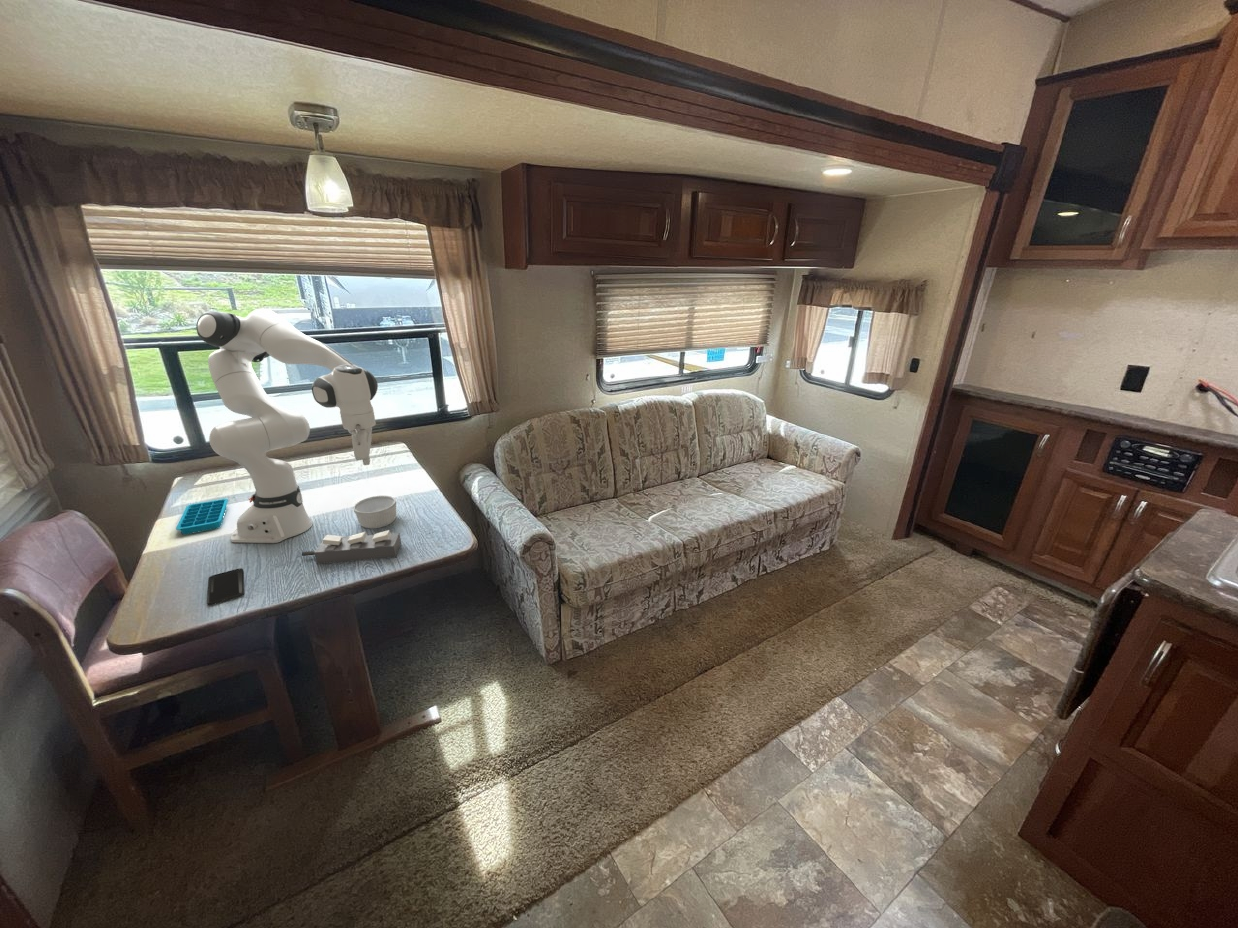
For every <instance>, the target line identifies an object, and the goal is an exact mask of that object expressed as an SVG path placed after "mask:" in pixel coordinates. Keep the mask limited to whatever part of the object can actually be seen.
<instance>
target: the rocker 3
mask: <svg viewBox="0 0 1238 928" xmlns="http://www.w3.org/2000/svg"><path fill="white" fill-rule="evenodd" d="M391 534H392V533H391V531H390V529H387V530H385V531H380V532H377V533H375V534H373V535H374V537H373V541H374V543H375V542H378V541H382V540H386V539H389V537H390V535H391Z"/></svg>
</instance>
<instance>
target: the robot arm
mask: <svg viewBox="0 0 1238 928" xmlns="http://www.w3.org/2000/svg"><path fill="white" fill-rule="evenodd" d="M195 328H196V329H195V330H196V333H197V336H198V337H199V339H201V341H202V342H204V343H206V344H208V345H209V346H213V347H215V348H219V349H217V350H215V351H213V352H212V353H210V354H209V356H208V358H207V363H208V369H209V373H210V376H211V379H212V382H213V384H214V386H215V389H216V390H217V392H218V394H219V397H220V399H221V400H222V403H223V406H225V407H226V408H227V409H228V410H229V411H231V412H233V413H235V414H238V415H243V416H248V418H243V419H239V420H238V419H237V420H231V421H228V422H225V423H222V424H219V425H217V426H215V427H213V428H212V430H210V433H209V438H208V440H209V444H210V447H211V449H212V450H213V451H214V452H215V454H216V455H218V456H220V457H222V458H224V459H227V460H231V461H233V462H235V463H237V464H238V465H240V466H242V467H243V468H244V469H245V470H246V472H247V474H249V476H250V478H251V481H252V483H253V486H254V489H255V493H253V494H252V495H251V497H250V498H249V499H248V500H249V503H252V502H253V504H252V505H251V506H249V507H248V508H247V509H246V510H245V511H244V512H242V514H241V515H240V516H239V517H238V519H237V521H236V529H235V530H234V531H233V532H232V533H231V535H230V538H229V539H230V542H231V543H249V544H250V543H253V544H254V543H255V544H277V543H280V542H283V541H285V540H286V539H288V538H292V537H295V536H298V535H300V534H302V533H304V532H307V531H308V530H309V529H310V528H311V527H312V526H313V521H312V519H311V518H310V516H309V514H308V513H307V510H306V509H305V506H304V503H303V502H304V501H303V496H302V492H301V489H300V486H299V485H298V483H297V479H296V475H295V471H294V468H293V466H292V464H290V463H289V462H287V461H285V460H282V459H278V458H273V457H272V458H271V457H268V456H267V452H270V451H275V450H280V449H284V448H288V447H293V446H296V445H298V444H300V443H303V442H304V441H306V440H308V438H309V436H310V433H311V427H310V424H309V422H308V420H307V419H306V417H305V416H304V415H302V414H301V413H299V412H296V411H292V410H289V409H287V408H285V407H283V406H281V405H279V404H278V403H277V402H275V401H274V400H273V399H272V398H271V397H270V396H269V395H268V394H267V392H266V391H265V389H264V388H263V386H262V384H261V383H260V380H259V378H258V377H257V375H256V372H255V371H254V369H253V366H252V363H260V362H262V361H264V359H266V358H268V357H272V359H274V360H276V361H278V362H281V363H282V364H287V365H312V366H320V367H322V368H325V369H328V370H329V371H330V372H329V373H328V374H324V375H321V376H319V377H316V378H315V379H314V381H313V382H312V384H311V385H312V386H311V392H312V396H313V399H314V401H315V402H316V403H317V404H319V405H320V406H321V407H323V408H327V409H329V408H332V409H333V408H336V407H337V408H339V414H340V418H341V424H342V428H343V429H344V430H346V431H348V433H349V434H351V443H352V449H353V450H352V451H353V455H354V459H355V460H356V461H362V464H363V466H369V465H370V464H371V458H370V453H371V446H372V440H373V428H374V427H375V426H376V425H377V423H376V418H375V412H374V408H373V405H372V403H371V401H372V400H373V399H374V398H375V396H376V394H377V392H378V387H379V385H378V381H377V379H376V377H375V376H374V375H373V374H372V373H371V372H370V371H368V370H367V369H365V368H363V367H361V366H358V365H356V364H354V363H353V362H352V361H351V360H349V359H348V358H346V357H345V356H344V355H342V354H341V353H339V352H337V350H335V349H334V348H332V347H330V346H329V345H327V344H326V343H324V342H321V341H319V340H316V339H315V338H312V337H311V336H308V335H306V334H304V333H303V332H301V331H300V330H298V329H297V328H296V327H295V326H293V325H292V324H291V323H290V322H288V320H286V319H285V318H284V317H282V316H281V315H279V314H278V313H276V312H274V311H272V310H270V309H266V308H257V309H255V310H253V311H251V312H249V314H248V315H247V316H246V317H242V316H238V315H236V314H235V313H233V312H232V313H231V312H225V311H218V310H217V311H216V310H210V311H209V310H207V311H205V312H203V313H202V314H201V315H200V317H198V319H197V322H196V325H195Z"/></svg>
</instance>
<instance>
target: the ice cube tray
mask: <svg viewBox="0 0 1238 928" xmlns="http://www.w3.org/2000/svg"><path fill="white" fill-rule="evenodd" d="M228 502H229V498H221V499H220V498H219V499H214V500H209V501H202V502H195V503H190V504H188V505H186V507H185V509H184V511H183V512H182V515H181V516H180V519H179V520H178V522H177V524H176V526H175V530H176V531H180V532H181V534H182V535H183V534H184V535H185V536H186V535H190V533H191V534H194V533H193V532H196V533H199V532H198V531H201V532H206V531H210V530H211V529H212V530H216V528H217V529H220V526H221V527H222V524H221V523H223V521H222V520H224V518H223V516H225V515H224V513H225V514H226V512H225V510H226V511H227V509H226V506H227V505H228ZM212 530H211V531H212Z"/></svg>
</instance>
